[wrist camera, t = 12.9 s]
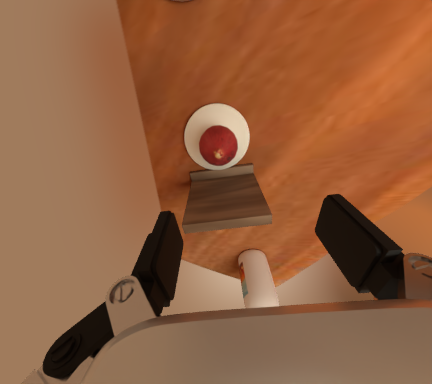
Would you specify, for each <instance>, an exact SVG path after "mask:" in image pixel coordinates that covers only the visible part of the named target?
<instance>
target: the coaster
mask: <svg viewBox="0 0 432 384" xmlns="http://www.w3.org/2000/svg"><path fill="white" fill-rule="evenodd" d="M215 125H221V126H224V127H227V128H229V129H230V130H231V131H232V132H233V133H234V134H235V136H236V138H237V142H238V150H237V153H236V156H235V157H234V158H233V159H232V160H231V161H230V162H229V163H228V164H225V165H223V166H214V165H211V164H209V163H208V162H207V161H205V160H204V159H203V157H202V155H201V154H200V150H199V141H200V138H201V136H202V134H203V133H204V132H205V131H206V129H208V128H210V127H211V126H215ZM249 138H250V135H249V129H248V125H247V123H246V121H245V119H244V118H243V116H242V115H241V114H240V113H239V112H238V111H237V110H236V109H234V108H233V107H231V106H228V105H226V104H221V103H214V104H208V105H206V106H203V107H201V108H200V109H198V110H197V111H196V112H195V113H194V114H193V115H192V116H191V118H190V119H189V121H188V123H187V125H186V128H185V134H184V140H185V146H186V149H187V151H188V153H189V155H190V156H191V158H192V159H193V160H194V161H195V162H196V163H197V164H199V165H200V166H202V167H204V168H207V169H211V170H222V169H226V168H229V167H231V166H233V165H235V164H236V163H237V162H239V161H240V160H241V159H242V157H243V156H244V154H245V153H246V151H247V148H248V145H249Z"/></svg>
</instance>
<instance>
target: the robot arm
mask: <svg viewBox="0 0 432 384" xmlns="http://www.w3.org/2000/svg"><path fill="white" fill-rule="evenodd" d="M172 1H179V2H184V1H192V0H172ZM315 233H316V235H317V236H318V238H319V239H320V241H321V242H322V244H323V245H324V247H325V248H326V250H327V251H328V253H329V254H330V255H331V257H332V258H333V260H334V261H335V263H336V264H337V266H338V267H339V269H340V270H341V272H342V273H343V275H344V276H345V277H346V279H347V280H348V282H349V283H350V285H351V286H353V287H355V288H356V290H357V291H358V293H369V292H371V293H372V294H373V295H374V300H367V301H351V302H335V303H320V304H304V305H290V306H274V307H260V308H246V309H232V310H219V311H206V312H195V313H184V314H174V315H167V316H161V315H160V314H161V313H162V310H163V307H169V306H170V300H173V298H174V294H175V289H176V283H177V277H178V272H179V267H180V261H181V256H182V250H183V239H182V236H181V233H180V230H179V227H178V224H177V221H176V218H175V215H174V213H171V211H163V212H160V214H159V217H158V219H157V221H156V224H155V226H154V229H153V231H152V233H150V234H149V235H148V236H147V238H146V241H145V243H144V246H143V248H142V250H141V253H140V255H139V257H138V260H137V262H136V265H135V267H134V269H133V271H132V274H131V276H125V277H123V278H121V279H119V280H118V281H116V282H115V283H114V284H113V285H112V286H111V287H110V289H109V290H108V292H107V295H106V301H105V302H104V303H103V304H101V305H100V306H99V307H97V308H96V309H95V310H93V311H92V312H91V313H90V314H88V315H87V316H86V317H84V318H83V319H82V320H81V321H79V322H78V323H77V324H75V325H74V326H73V327H72V328H70V329H69V330H68V331H66V332H65V333H64V334H63V335H62V336H61V337H59V338H58V339H57V340H56V341H55V342H54V344H53V345H52V346H51V347H50V349H49V351H48V352H47V354H46V356H45V359H44V361H43V365H42V366H41V367H40V368H39V369H38V370H34V371H33V372H32V373H31V374H30V375H29V376H28V377H27V378H26V379H25V380H24V381H23V382H22V383H21V384H432V258H431V257H429V256H426V255H423V254H419V253H408V254H406V255H404V254H403V253H402V252H401V251H402V250H403V249H402V248H401V247H399V246H398V245H397V244H396V243H395V242H394V241H393V240H391V239H390V238H389V237H388V236H387V235H386V234H385V233H384V232H382V231H381V230H380V229H379V228H378V227H377V226H376V225H374V224H373V223H372V222H371V221H370V220H369V219H368V218H366V217H365V216H364V215H363V214H362V213H361V212H360V211H359V210H357V209H356V208H355V207H354V206H353V205H352V204H351V203H349V202H348V201H347V200H346V199H345V198H344V197H343V196H342V195H340V194H333V195H328V196H327V197H326V198H324V200H323V204H322V207H321V210H320V214H319V217H318V221H317V224H316V227H315Z"/></svg>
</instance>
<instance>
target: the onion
mask: <svg viewBox="0 0 432 384" xmlns="http://www.w3.org/2000/svg"><path fill="white" fill-rule="evenodd" d="M199 150H200V154H201V155H202V157H203V159H204V160H205V161H207V162H208V163H209V164H211V165H214V166H223V165H225V164H228V163H229V162H230V161H231V160H232V159H233V158H234V157H235V156H236V153H237V150H238V142H237V138H236V136H235V134H234V133H233V132H232V131H231V130H230V129H229V128H227V127H224V126H221V125H215V126H211V127H210V128H208V129H206V131H205V132H204V133H203V134H202V136H201V138H200V141H199Z"/></svg>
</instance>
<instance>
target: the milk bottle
mask: <svg viewBox="0 0 432 384" xmlns="http://www.w3.org/2000/svg"><path fill="white" fill-rule="evenodd" d="M238 264H239V271H240V278H241V285H242V292H243V298H244V303H245V307H246V308H260V307H274V306H279V301H278V297H277V293H276V289H275V286H274V282H273V279H272V275H271V272H270V269H269V265H268V262H267V259H266V256H265V254H264V253H263V252H262V251H260V250H256V249H250V250H246V251H244V252H242V253H241V254H240V256H239V258H238Z"/></svg>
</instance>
